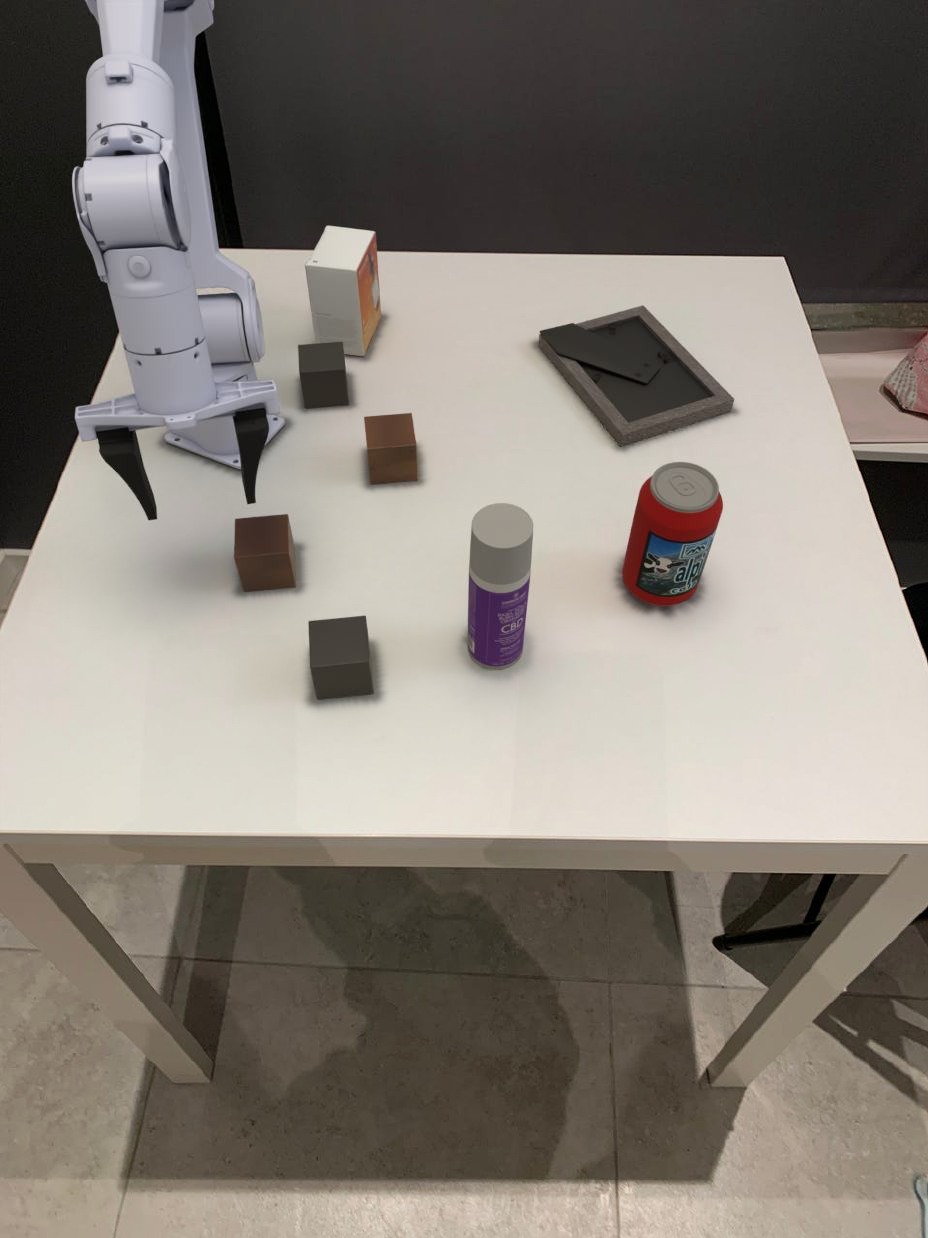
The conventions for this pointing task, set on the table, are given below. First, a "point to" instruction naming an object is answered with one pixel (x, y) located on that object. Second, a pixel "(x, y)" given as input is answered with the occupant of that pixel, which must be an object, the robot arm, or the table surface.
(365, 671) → the charcoal front block
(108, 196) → the robot arm
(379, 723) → the table surface
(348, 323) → the small box
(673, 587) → the beverage can
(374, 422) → the walnut block
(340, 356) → the charcoal end block
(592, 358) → the picture frame
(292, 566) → the walnut block
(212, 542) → the table surface
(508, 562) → the container
